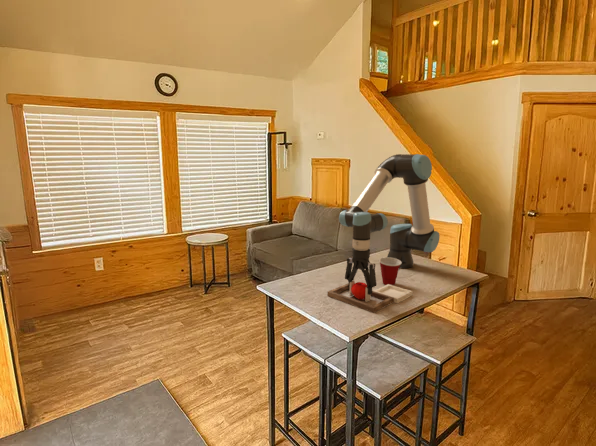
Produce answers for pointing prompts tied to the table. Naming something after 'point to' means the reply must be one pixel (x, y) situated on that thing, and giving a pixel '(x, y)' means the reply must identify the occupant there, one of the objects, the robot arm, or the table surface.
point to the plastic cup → (389, 269)
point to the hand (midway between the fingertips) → (359, 298)
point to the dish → (395, 292)
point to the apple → (359, 290)
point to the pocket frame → (357, 303)
